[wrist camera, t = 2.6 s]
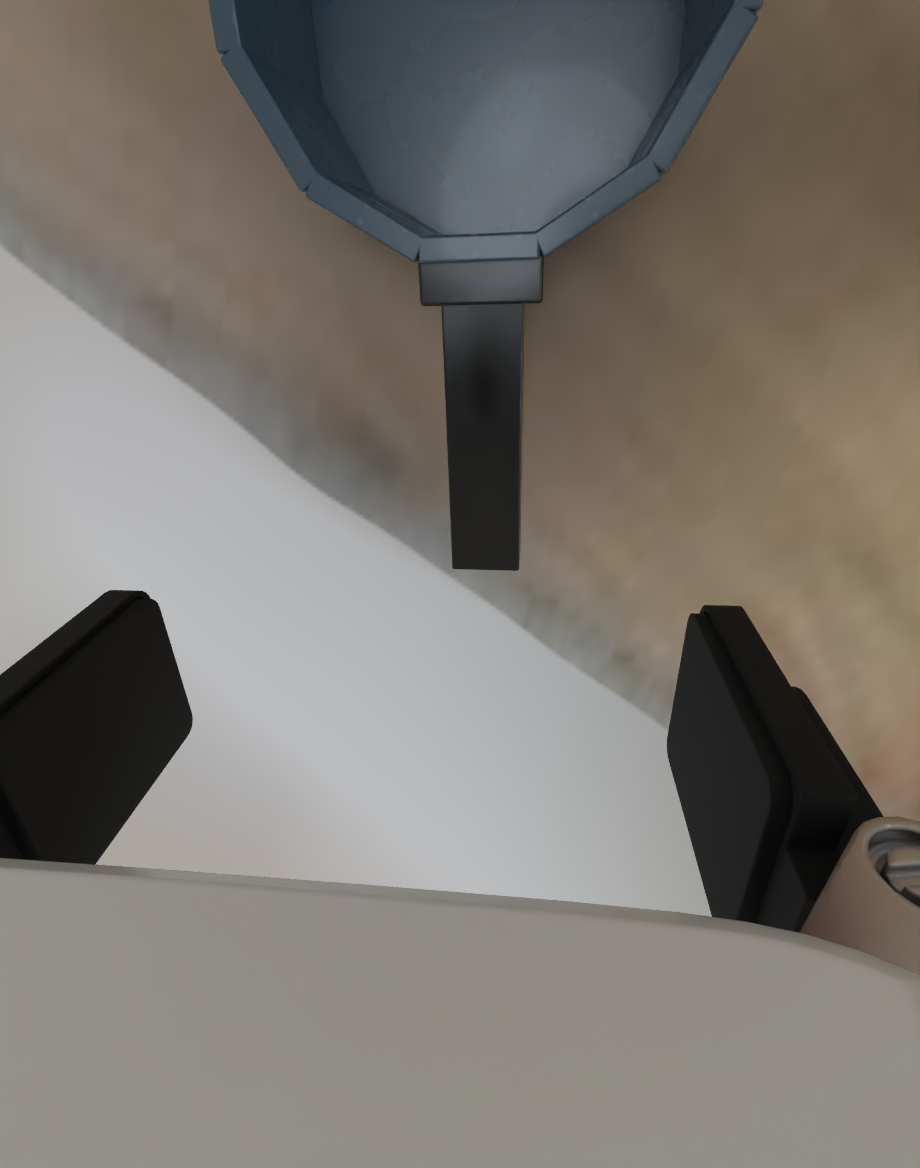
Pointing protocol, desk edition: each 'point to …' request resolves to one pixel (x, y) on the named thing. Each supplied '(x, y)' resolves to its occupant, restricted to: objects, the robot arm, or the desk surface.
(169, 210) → the desk surface
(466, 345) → the saucepan
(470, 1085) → the robot arm
